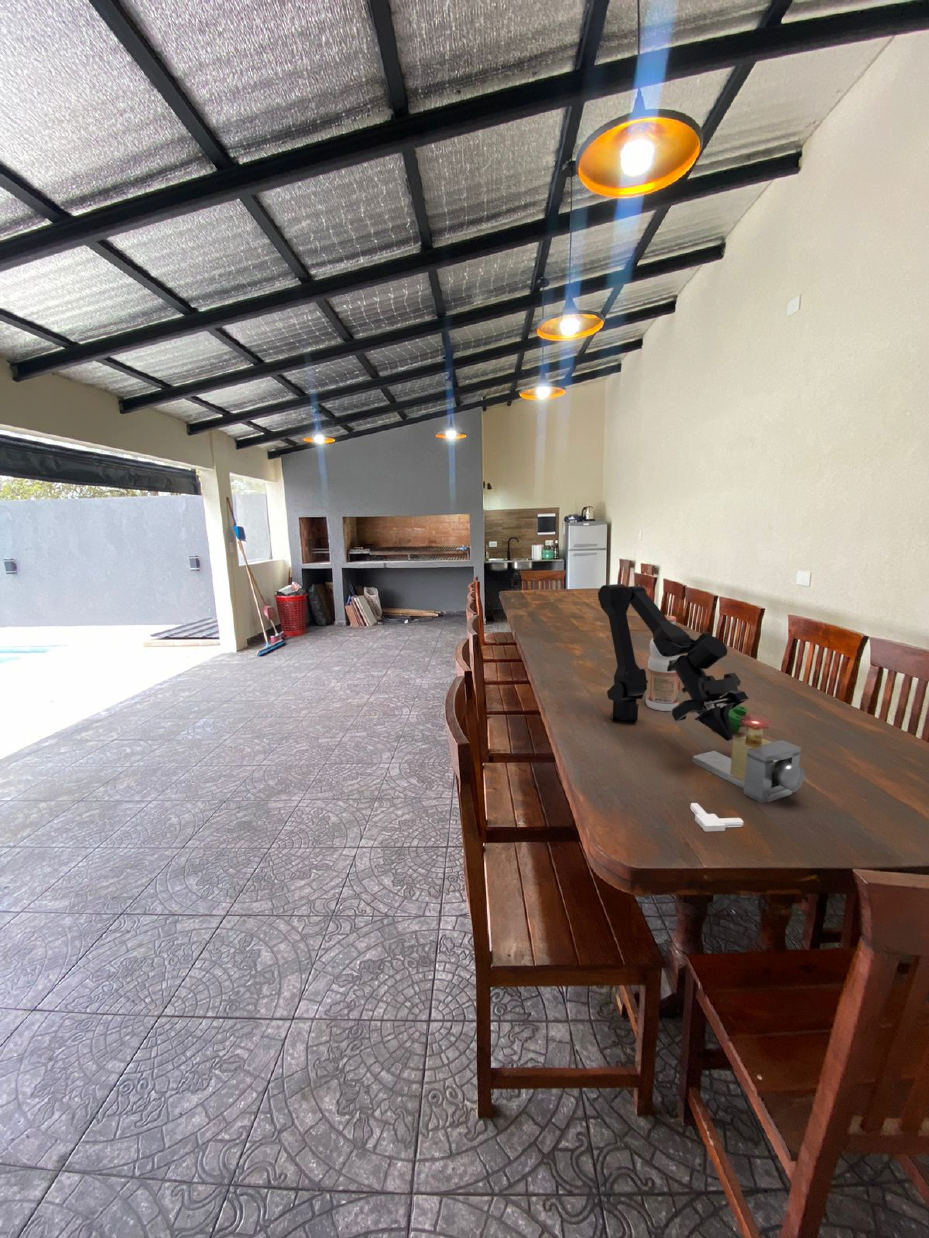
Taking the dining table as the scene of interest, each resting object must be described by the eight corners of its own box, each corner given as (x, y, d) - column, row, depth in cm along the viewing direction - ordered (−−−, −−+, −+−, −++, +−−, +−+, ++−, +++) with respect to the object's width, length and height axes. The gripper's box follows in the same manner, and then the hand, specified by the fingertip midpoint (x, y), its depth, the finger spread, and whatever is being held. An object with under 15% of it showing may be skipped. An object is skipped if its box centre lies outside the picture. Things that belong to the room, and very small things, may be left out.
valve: (728, 773, 109) (733, 717, 107) (748, 767, 111) (753, 713, 109) (761, 789, 102) (768, 730, 100) (781, 783, 104) (788, 725, 102)
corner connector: (723, 808, 99) (723, 800, 99) (747, 832, 92) (748, 824, 91) (683, 809, 99) (684, 801, 99) (704, 833, 91) (705, 825, 91)
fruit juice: (639, 702, 157) (644, 614, 152) (665, 699, 160) (670, 613, 154) (658, 713, 148) (663, 620, 143) (685, 709, 151) (691, 618, 145)
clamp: (731, 748, 135) (740, 725, 129) (708, 738, 138) (716, 715, 132) (743, 720, 142) (752, 697, 136) (721, 710, 145) (729, 688, 139)
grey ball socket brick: (686, 763, 117) (689, 723, 115) (718, 755, 121) (722, 716, 119) (775, 810, 97) (781, 763, 96) (810, 798, 101) (816, 753, 100)
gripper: (685, 666, 110) (724, 733, 102) (745, 657, 117) (786, 718, 109) (656, 689, 118) (690, 752, 110) (714, 679, 125) (749, 737, 118)
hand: (730, 739), depth 112 cm, fingers closed
